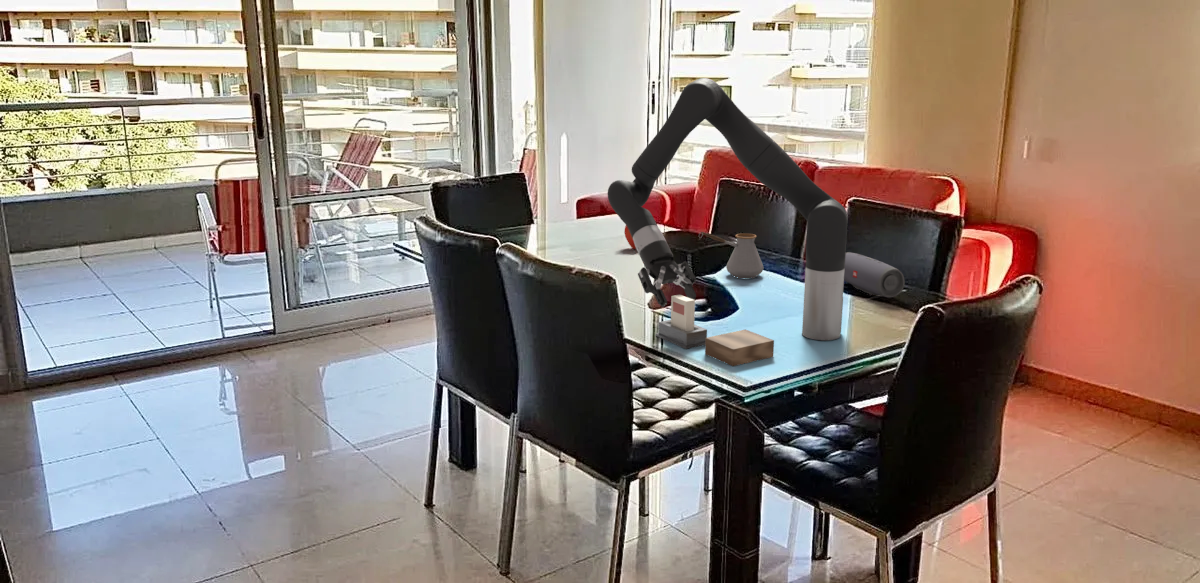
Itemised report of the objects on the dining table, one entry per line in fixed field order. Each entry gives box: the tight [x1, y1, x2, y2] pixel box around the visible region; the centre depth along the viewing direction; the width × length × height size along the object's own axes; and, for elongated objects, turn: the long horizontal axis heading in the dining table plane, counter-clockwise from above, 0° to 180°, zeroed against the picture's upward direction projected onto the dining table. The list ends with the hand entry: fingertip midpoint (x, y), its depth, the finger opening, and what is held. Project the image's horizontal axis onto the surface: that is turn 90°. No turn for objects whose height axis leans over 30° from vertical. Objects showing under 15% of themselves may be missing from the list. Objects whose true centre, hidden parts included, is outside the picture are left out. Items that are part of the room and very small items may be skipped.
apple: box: [624, 224, 637, 250], centre depth 325 cm, size 9×8×11 cm
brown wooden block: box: [704, 328, 775, 367], centre depth 214 cm, size 12×10×4 cm
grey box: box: [655, 319, 708, 350], centre depth 226 cm, size 7×12×4 cm, turn 32°
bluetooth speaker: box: [844, 251, 906, 298], centre depth 267 cm, size 23×9×10 cm, turn 18°
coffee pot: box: [698, 231, 764, 279], centre depth 284 cm, size 21×12×15 cm, turn 108°
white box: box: [670, 294, 696, 332], centre depth 225 cm, size 3×6×10 cm, turn 32°
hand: (679, 302), depth 225 cm, fingers open, 8 cm apart
